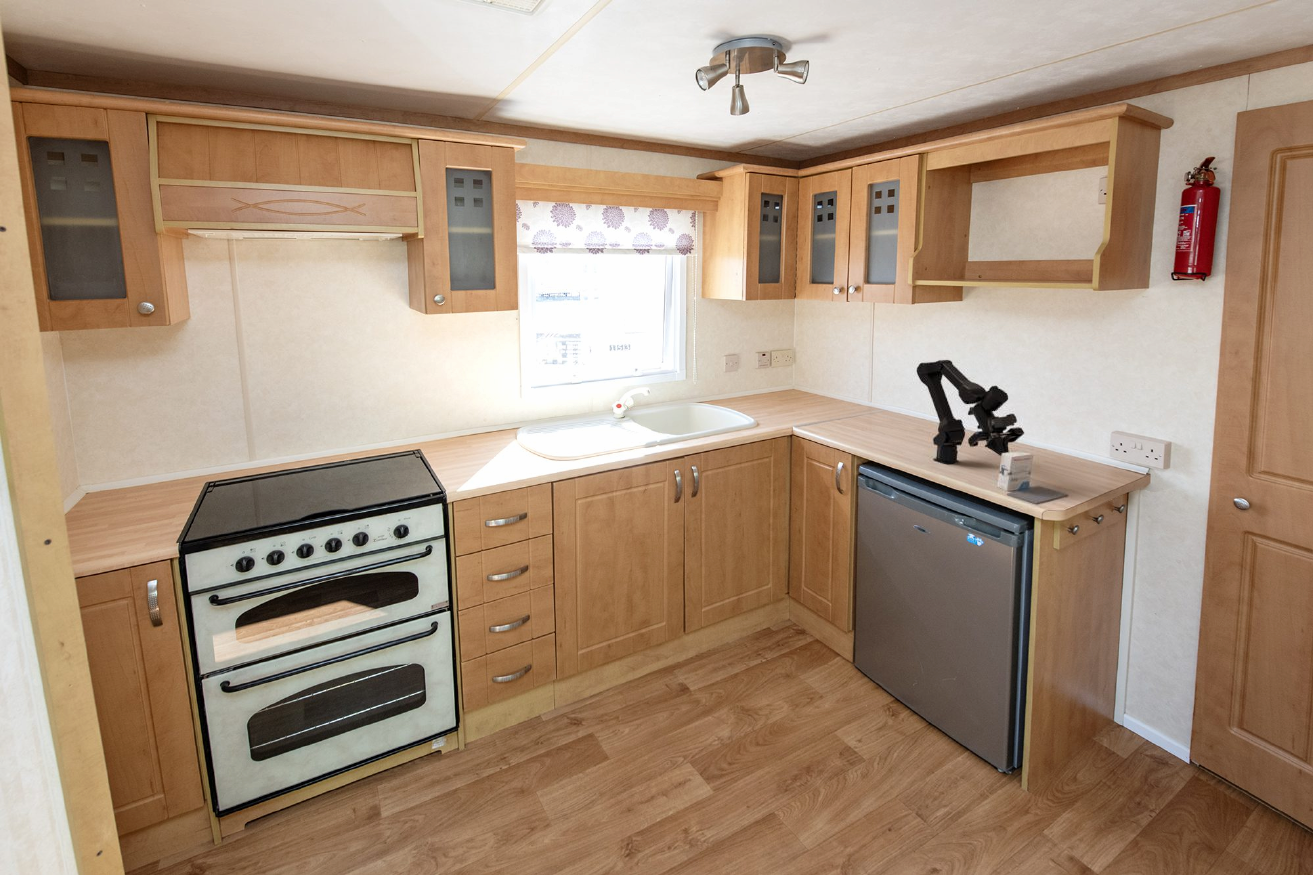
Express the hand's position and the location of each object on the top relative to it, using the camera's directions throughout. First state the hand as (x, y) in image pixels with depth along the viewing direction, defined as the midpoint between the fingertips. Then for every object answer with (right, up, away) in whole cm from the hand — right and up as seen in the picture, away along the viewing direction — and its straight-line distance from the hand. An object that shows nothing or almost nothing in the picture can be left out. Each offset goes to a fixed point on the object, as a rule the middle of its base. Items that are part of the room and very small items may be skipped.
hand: (1007, 458), depth 238 cm
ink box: (+1, -10, -1) cm, 10 cm away
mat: (+5, -11, -8) cm, 15 cm away
